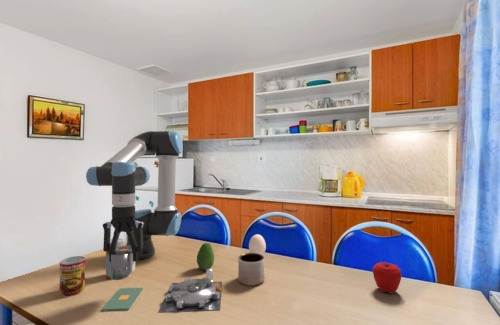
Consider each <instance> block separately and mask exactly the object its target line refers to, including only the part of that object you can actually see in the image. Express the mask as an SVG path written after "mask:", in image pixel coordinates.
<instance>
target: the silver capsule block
mask: <svg viewBox="0 0 500 325" xmlns="http://www.w3.org/2000/svg"><path fill="white" fill-rule="evenodd" d="M131 252H132V248H131V245H126V244H125V245H123V246H122V247H120V248H118V249H117V250H116V251H114V252H113V253H112V254H111V280H114V281H119V280H124V279H126V278H128V277H129V276H130V275H131V274H132V273H133V272H130V253H131Z"/></svg>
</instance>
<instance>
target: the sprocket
mask: <svg viewBox="0 0 500 325" xmlns="http://www.w3.org/2000/svg"><path fill="white" fill-rule="evenodd" d="M213 272H214V269H213V268H212V267H211V268H207V269H206V270H205V275H206V276H205V277H202V278H192V279H191V278H189V277H188V278H185V279H184V280H183V281H181V282H177V283H178V284H177V285H173V284H172V283H171V284H170V285H169V287H168V291H171V293H170V294H167V293H166V294H165V297H166V301H167V302H168V301H173V302H174V303H176V304H177V308H183V307H184V306H199V308H200V307H204V306H205V303H207V302H209V301H211V300H212V299H218V298H219V297H220V292H216V290H217V289H220V284H219V283H213V282H214V278H213V276H214V274H213Z"/></svg>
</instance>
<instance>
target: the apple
mask: <svg viewBox="0 0 500 325" xmlns="http://www.w3.org/2000/svg"><path fill="white" fill-rule="evenodd" d="M372 276H373V279H374V282H375V284H376V286H377V287H378V289H379V290H380V291H381V292H383V291H385V292H384V293H386V292H393V293H394V292H396V291H398V288H399V286H400V283H401V281H402V277H403V275H402V272H401V269H400V268H399V267H398V266H397V265H396V264H393V263H389V262H376V264H374V265H373V268H372Z"/></svg>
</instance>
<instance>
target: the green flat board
mask: <svg viewBox="0 0 500 325" xmlns="http://www.w3.org/2000/svg"><path fill="white" fill-rule="evenodd" d="M143 289H144V288H143V287H126V288H124V287H123V288H122V287H121V288H119V289H118V290H117V291H116V293H114V295H113V296H112V297H110V299H109V300H108V302H107V303H106V304H105V305H104V306H103V307H102V309H101V311H102V312H109V311H130V309H131V308H132V305H133V304H134V303H135V301H136V300H137V298H138V297H139V296H140V294H141V292H142V291H143Z"/></svg>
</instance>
